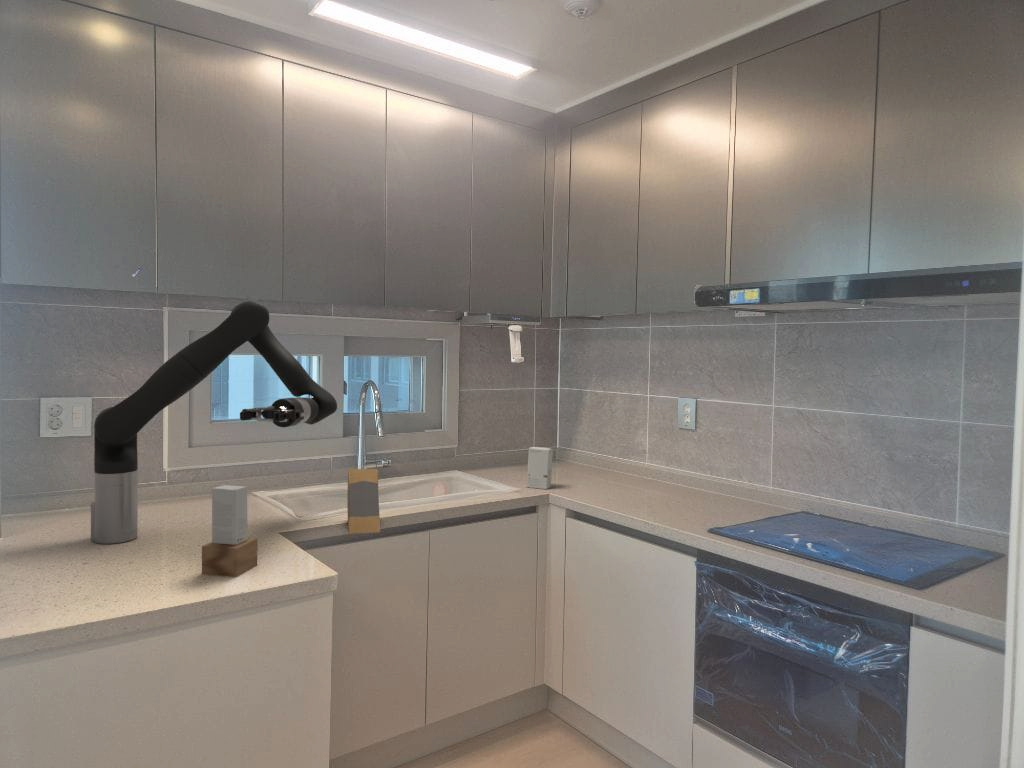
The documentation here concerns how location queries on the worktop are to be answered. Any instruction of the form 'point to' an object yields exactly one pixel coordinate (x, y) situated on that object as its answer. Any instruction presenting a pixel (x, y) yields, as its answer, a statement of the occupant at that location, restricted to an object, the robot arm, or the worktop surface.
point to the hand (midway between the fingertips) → (258, 416)
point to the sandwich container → (363, 501)
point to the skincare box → (229, 514)
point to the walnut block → (229, 558)
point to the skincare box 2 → (539, 467)
